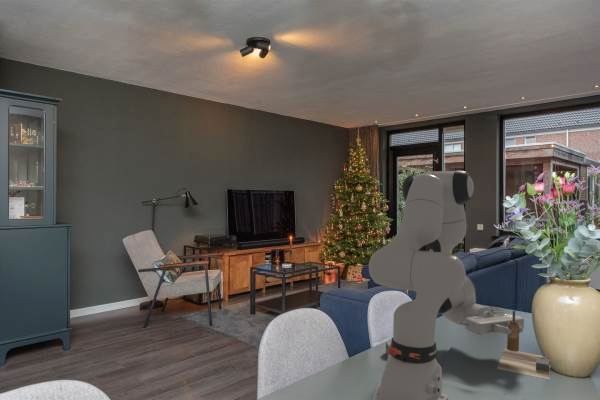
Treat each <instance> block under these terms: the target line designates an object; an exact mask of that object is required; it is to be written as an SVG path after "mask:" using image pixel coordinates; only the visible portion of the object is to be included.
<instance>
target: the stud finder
mask: <svg viewBox="0 0 600 400" xmlns="http://www.w3.org/2000/svg"><path fill="white" fill-rule="evenodd" d="M540 356H541V357H538V356H537V359H536V370H541V371H545V372H549V361H550V360H548V359H547V358H545V357H546V356H545V357H542V356H543V355H540Z"/></svg>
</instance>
